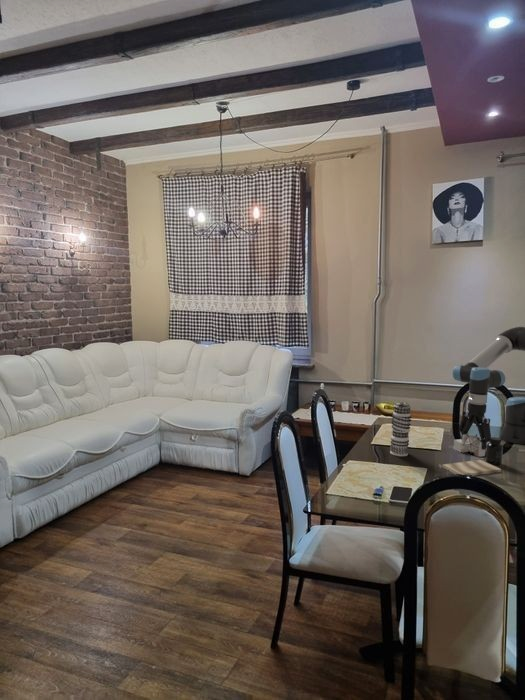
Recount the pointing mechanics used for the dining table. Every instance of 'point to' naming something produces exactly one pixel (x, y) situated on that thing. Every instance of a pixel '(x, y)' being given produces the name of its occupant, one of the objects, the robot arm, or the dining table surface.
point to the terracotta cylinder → (478, 454)
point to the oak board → (471, 468)
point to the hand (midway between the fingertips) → (472, 452)
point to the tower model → (400, 429)
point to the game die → (472, 443)
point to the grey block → (459, 446)
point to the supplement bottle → (494, 452)
